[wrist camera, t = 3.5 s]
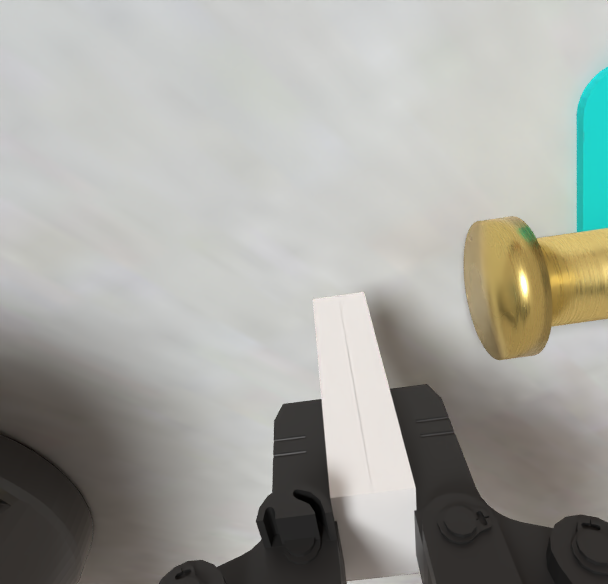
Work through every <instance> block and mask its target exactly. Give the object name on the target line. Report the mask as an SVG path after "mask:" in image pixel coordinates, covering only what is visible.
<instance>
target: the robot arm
mask: <svg viewBox="0 0 608 584" xmlns="http://www.w3.org/2000/svg"><path fill="white" fill-rule="evenodd" d="M313 309H314V320H315V331H316V343H317V354H318V365H319V376H320V388H321V399H318V400H311V401H303V402H295V403H287V404H283V405H282V407H281V409H280V411H279V413H278V415H277V417H276V419H275V420H274V450H273V455H274V458H273V487H272V493H271V494H270V495H269V496H268V497H267V498H266V499H265V501H264V502H263V503H262V505H261V506H260V508H259V512H258V515H257V519H256V523H257V526H258V529H259V532H260V535H261V538H262V539H261V541H260V542H259V543H258V544H257V545H256V546H255V547H254V548H253V549H252V550H250V551H248V552H247V553H245V554H243V555H242V556H240V557H238V558H235V559H233V560H231V561H229V562H227V563H225V564H223V565H220V566H218V567H215V565H213V564H211V563H208V562H206V561H203V560H197V561H187V562H185V563H183V564H181V565H179V566H177V567H174V568H173V569H172V570H171V571H170V572H169V573H168V574H166V575H165V576H164V577H163V578H162V579H161V581H160V582H159V584H347V582H346V581H353V580H362V579H371V578H380V577H389V576H398V575H407V574H416V573H419V570H420V574H421V579H422V583H423V584H608V523H607V522H605V521H603V520H601V519H599V518H596V517H591V516H585V515H575V516H569V517H565V518H564V519H562V520H561V521H559V522H558V523H556V524H555V526H554V528H549V527H544V526H538V525H533V524H528V523H523V522H519V521H516V520H512V519H509V518H507V517H505V516H503V515H501V514H499V513H497V512H496V511H495V510H494V509H492V508H491V507H490V506H488V505H487V503H486V502H485V501H484V500H483V499H482V498H481V496H480V495H479V493H478V491H477V489H476V487H475V484H474V482H473V479H472V476H471V474H470V471H469V469H468V466H467V463H466V461H465V458H464V456H463V453H462V451H461V448H460V445H459V443H458V440H457V438H456V435H455V434H454V430H453V427H452V425H451V422H450V419H449V418H448V414H447V412H446V409H445V406H444V404H443V401H442V399H441V397H439V396H438V395H437V394H436V393H435V392H434V391H433V390H432V389H431V388H430V387H429V386H428V385H427V384H425V385H417V386H409V387H402V388H394V389H389V385H388V381H387V377H386V373H385V370H384V366H383V362H382V358H381V355H380V351H379V347H378V343H377V339H376V336H375V332H374V328H373V324H372V320H371V317H370V313H369V309H368V305H367V301H366V298H365V294H364V292H359V293H351V294H344V295H337V296H330V297H323V298H315V299H313ZM92 539H93V522H92V517H91V514H90V511H89V509H88V506H87V504H86V502H85V500H84V499H83V497H82V496H81V494H80V493H79V491H78V490H77V489H76V487H75V486H74V485H73V484H72V483H71V482H70V480H69V479H68V478H67V477H66V476H65V475H64V474H62V473H61V472H60V471H59V470H58V469H57V468H56V467H54V466H53V465H52V464H51V463H49V462H48V461H47V460H45V459H44V458H42V457H41V456H39V455H38V454H36V453H35V452H33V451H32V450H30V449H28V448H26V447H25V446H23V445H21V444H19V443H17V442H15V441H13V440H11V439H9V438H7V437H5V436H3V435H0V584H78V581H79V579H80V576H81V573H82V570H83V567H84V564H85V561H86V558H87V556H88V553H89V550H90V547H91V544H92Z"/></svg>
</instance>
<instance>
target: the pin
mask: <svg viewBox="0 0 608 584" xmlns="http://www.w3.org/2000/svg"><path fill="white" fill-rule="evenodd" d="M464 280H465V289H466V295H467V300H468V305H469V310H470V314H471V317H472V320H473V324H474V327H475V329H476V332H477V334H478V336H479V339H480V341H481V343H482V344H483V346H484V348H485V349H486V351H487V352H488V353H489V354H490V355H491V356H492V357H493V358H495V359H497V360H504V359H511V358H519V357H526V356H533V355H537V354H539V353H540V352H541V351H542V350H543V349H544V347H545V345H546V343H547V341H548V338H549V335H550V330H551V326H559V325H566V324H573V323H580V322H587V321H594V320H601V319H608V228H604V229H597V230H590V231H583V232H577V233H570V234H563V235H556V236H549V237H543V238H536V237H535V235H534V234H533V232H532V231H531V229H530V228H529V226H528V225H527V224H526V223H525V222H524V221H522V220H521V219H520V218H518V217H514V216H510V217H504V218H497V219H490V220H484V221H477V222H475V223H474V224H473V225H472V226H471V227H470V229H469V231H468V234H467V238H466V242H465V249H464Z"/></svg>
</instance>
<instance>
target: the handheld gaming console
mask: <svg viewBox="0 0 608 584" xmlns="http://www.w3.org/2000/svg"><path fill="white" fill-rule="evenodd" d="M604 228H608V67H606V68H605V69H603V70H602V71H600V72H599V73H598V74H597V75H596V76H595V77H594V78H593V79H592V80H591V81H590V83H589V84H588V85H587V86H586V88H585V90H584V92H583V94H582V95H581V98H580V101H579V104H578V109H577V232H583V231H590V230H597V229H604Z"/></svg>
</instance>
